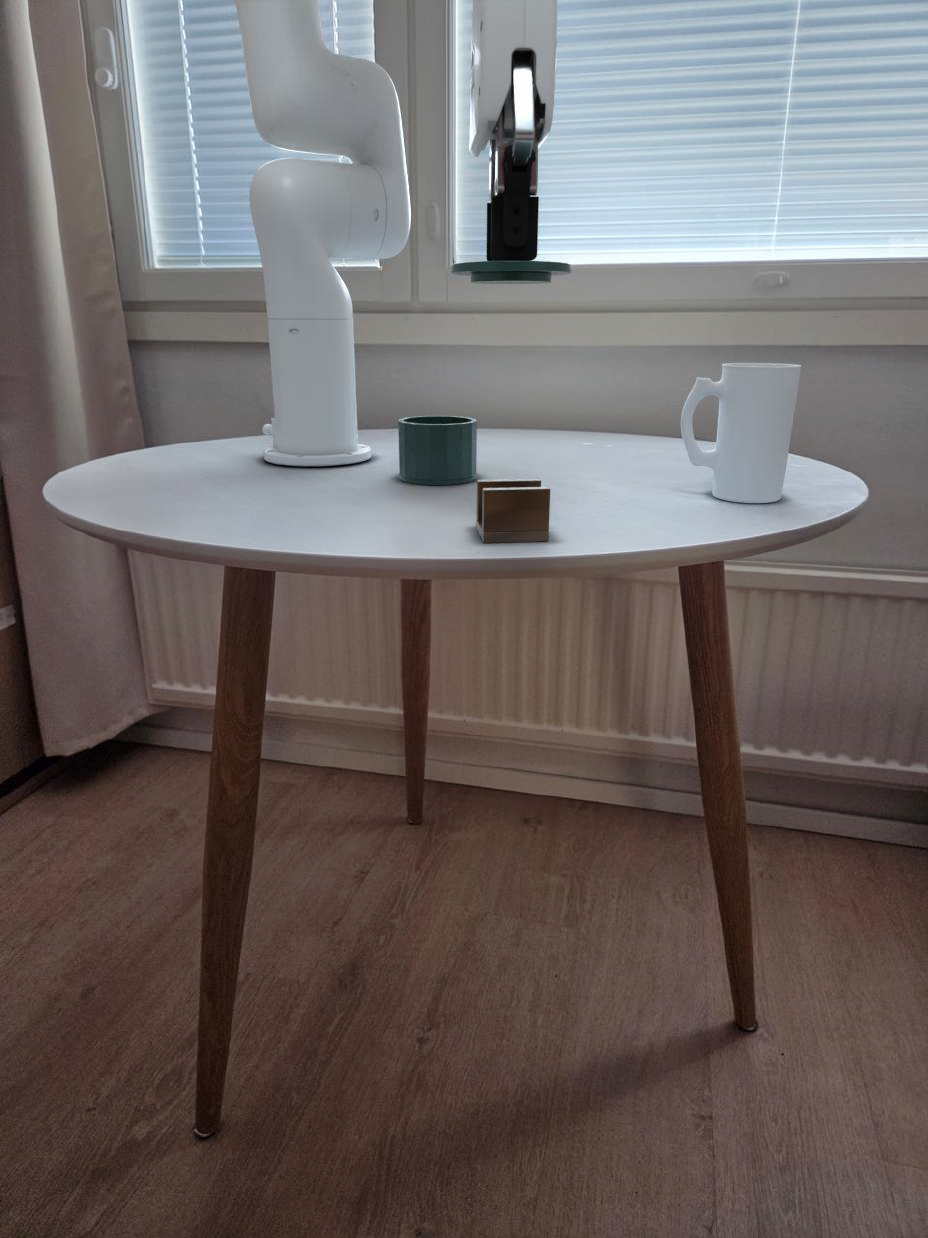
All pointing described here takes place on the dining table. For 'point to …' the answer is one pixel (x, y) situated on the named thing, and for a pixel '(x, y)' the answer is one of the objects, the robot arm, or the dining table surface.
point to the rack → (512, 510)
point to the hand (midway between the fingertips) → (511, 259)
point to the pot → (437, 450)
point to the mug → (746, 429)
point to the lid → (511, 270)
